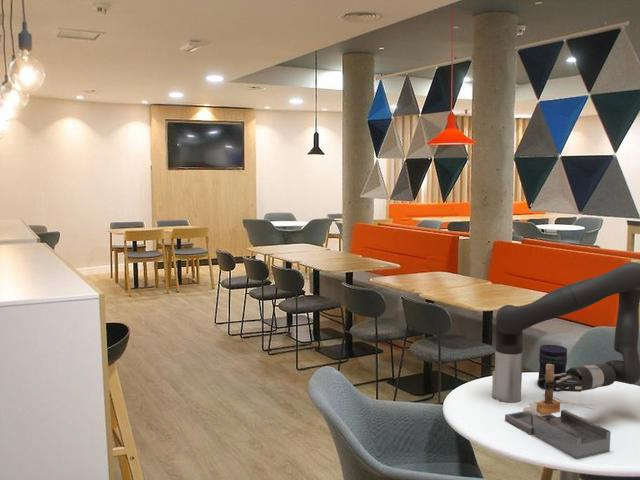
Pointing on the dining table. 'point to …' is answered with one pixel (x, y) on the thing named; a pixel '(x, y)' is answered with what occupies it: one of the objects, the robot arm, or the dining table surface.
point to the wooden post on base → (548, 395)
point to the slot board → (572, 434)
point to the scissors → (566, 402)
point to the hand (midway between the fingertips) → (541, 384)
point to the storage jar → (552, 360)
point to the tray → (522, 421)
